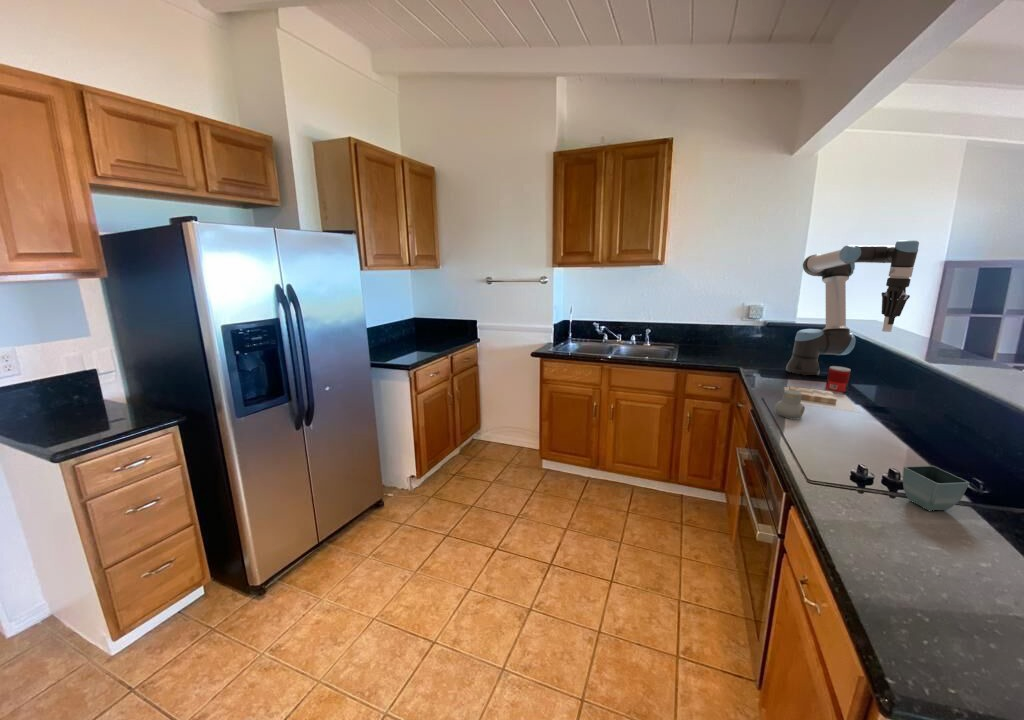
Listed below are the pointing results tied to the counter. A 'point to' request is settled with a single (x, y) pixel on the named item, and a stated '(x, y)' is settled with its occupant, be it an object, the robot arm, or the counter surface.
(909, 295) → the robot arm
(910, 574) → the counter surface
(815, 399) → the tile
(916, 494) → the flower pot
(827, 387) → the canned food
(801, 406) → the air freshener
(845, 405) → the mat
